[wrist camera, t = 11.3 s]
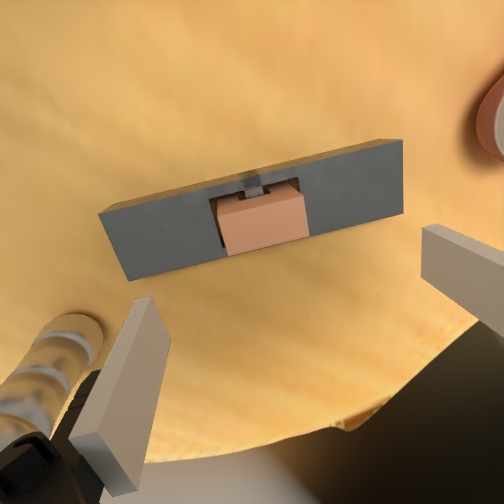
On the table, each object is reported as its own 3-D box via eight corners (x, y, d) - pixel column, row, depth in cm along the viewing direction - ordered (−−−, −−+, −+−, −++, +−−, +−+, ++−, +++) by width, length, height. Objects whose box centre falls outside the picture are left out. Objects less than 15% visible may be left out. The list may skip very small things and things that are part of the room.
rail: (138, 264, 32) (128, 281, 28) (113, 204, 29) (98, 214, 26) (382, 204, 32) (403, 213, 29) (379, 138, 29) (402, 139, 26)
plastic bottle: (37, 322, 34) (-186, 553, 15) (85, 296, 33) (-87, 504, 14) (76, 359, 36) (-76, 595, 18) (121, 335, 35) (13, 555, 17)
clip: (226, 227, 31) (228, 256, 24) (218, 196, 30) (217, 216, 23) (288, 212, 31) (309, 236, 24) (283, 180, 30) (303, 195, 23)
